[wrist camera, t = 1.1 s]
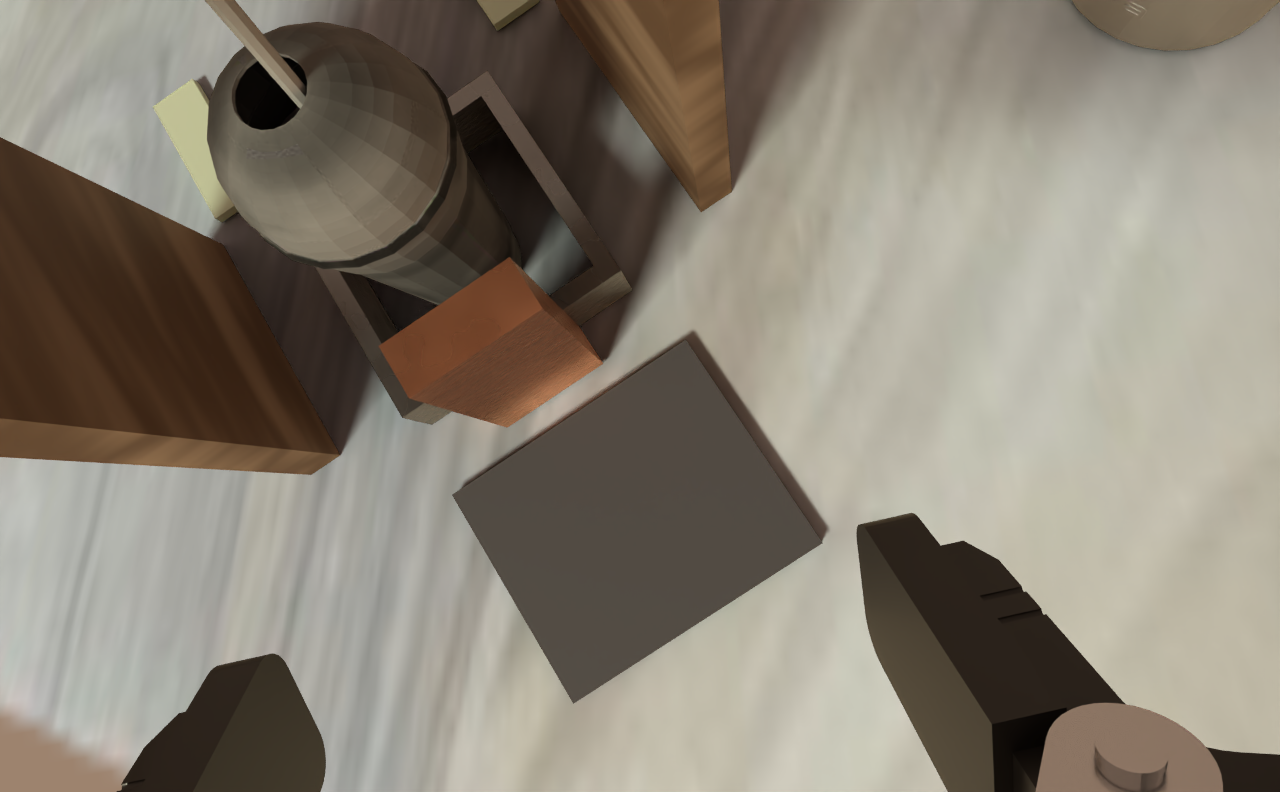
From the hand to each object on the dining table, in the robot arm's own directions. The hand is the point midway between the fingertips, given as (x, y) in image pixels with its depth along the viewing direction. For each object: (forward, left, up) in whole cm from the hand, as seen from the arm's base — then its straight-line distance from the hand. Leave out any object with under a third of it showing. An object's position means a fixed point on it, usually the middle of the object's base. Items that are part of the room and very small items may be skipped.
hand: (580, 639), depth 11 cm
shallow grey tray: (+2, -15, -22) cm, 27 cm away
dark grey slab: (+2, -2, -22) cm, 23 cm away
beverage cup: (+2, -16, -23) cm, 28 cm away
